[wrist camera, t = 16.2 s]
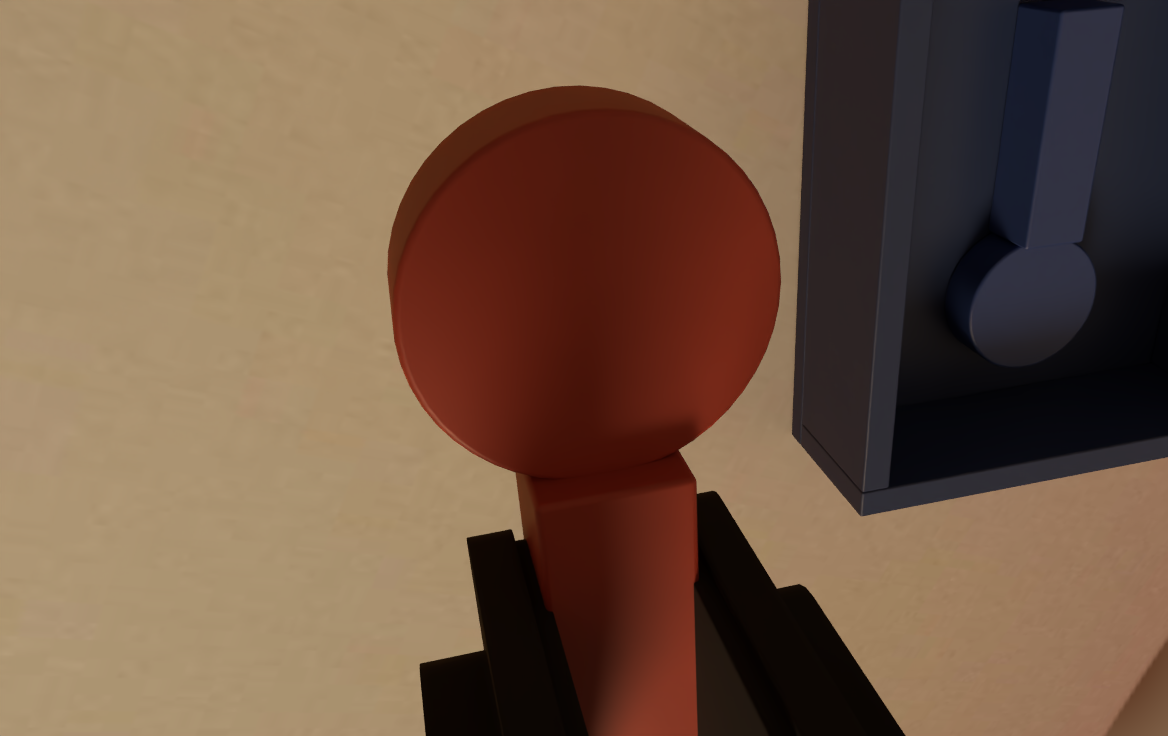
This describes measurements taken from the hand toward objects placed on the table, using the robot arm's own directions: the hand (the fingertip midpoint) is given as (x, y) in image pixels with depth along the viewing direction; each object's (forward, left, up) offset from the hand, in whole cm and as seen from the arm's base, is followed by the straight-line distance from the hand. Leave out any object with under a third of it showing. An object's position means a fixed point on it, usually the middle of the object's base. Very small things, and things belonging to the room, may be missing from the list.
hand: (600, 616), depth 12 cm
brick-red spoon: (-2, 0, 0) cm, 2 cm away
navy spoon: (0, +14, -12) cm, 18 cm away
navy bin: (0, +14, -13) cm, 19 cm away
